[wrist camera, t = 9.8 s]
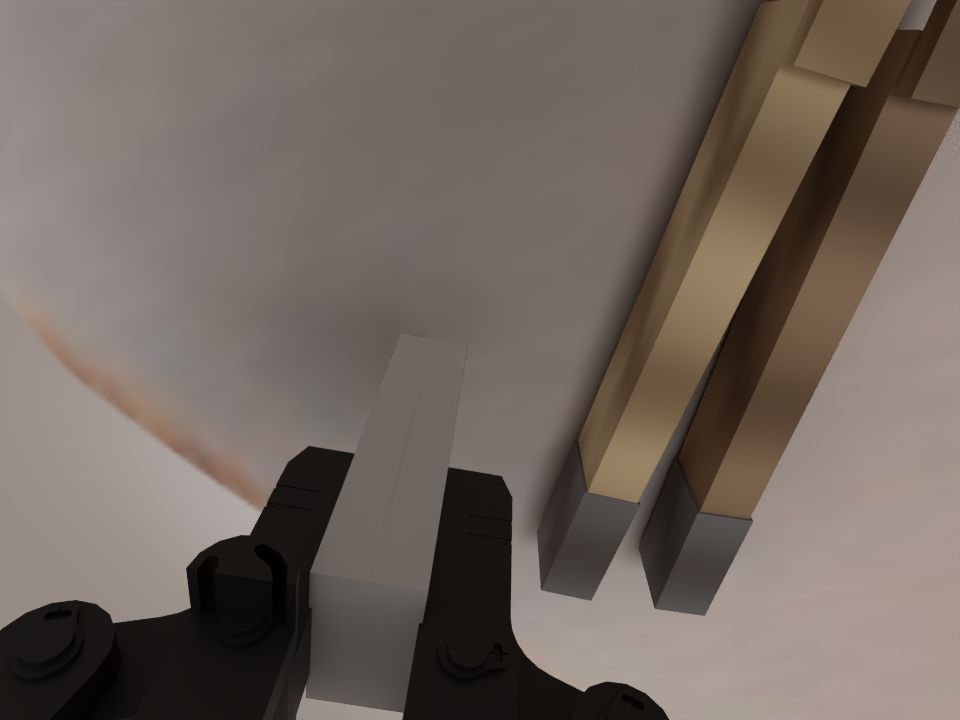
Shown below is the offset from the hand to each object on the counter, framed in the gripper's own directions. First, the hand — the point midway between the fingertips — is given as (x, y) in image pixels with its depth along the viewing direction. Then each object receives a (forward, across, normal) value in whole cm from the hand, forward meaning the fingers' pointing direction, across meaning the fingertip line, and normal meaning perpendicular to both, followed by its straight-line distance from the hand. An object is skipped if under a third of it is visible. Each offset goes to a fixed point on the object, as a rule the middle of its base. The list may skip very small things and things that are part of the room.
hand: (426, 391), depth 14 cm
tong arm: (+8, +7, 0) cm, 10 cm away
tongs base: (+8, +10, +1) cm, 12 cm away
